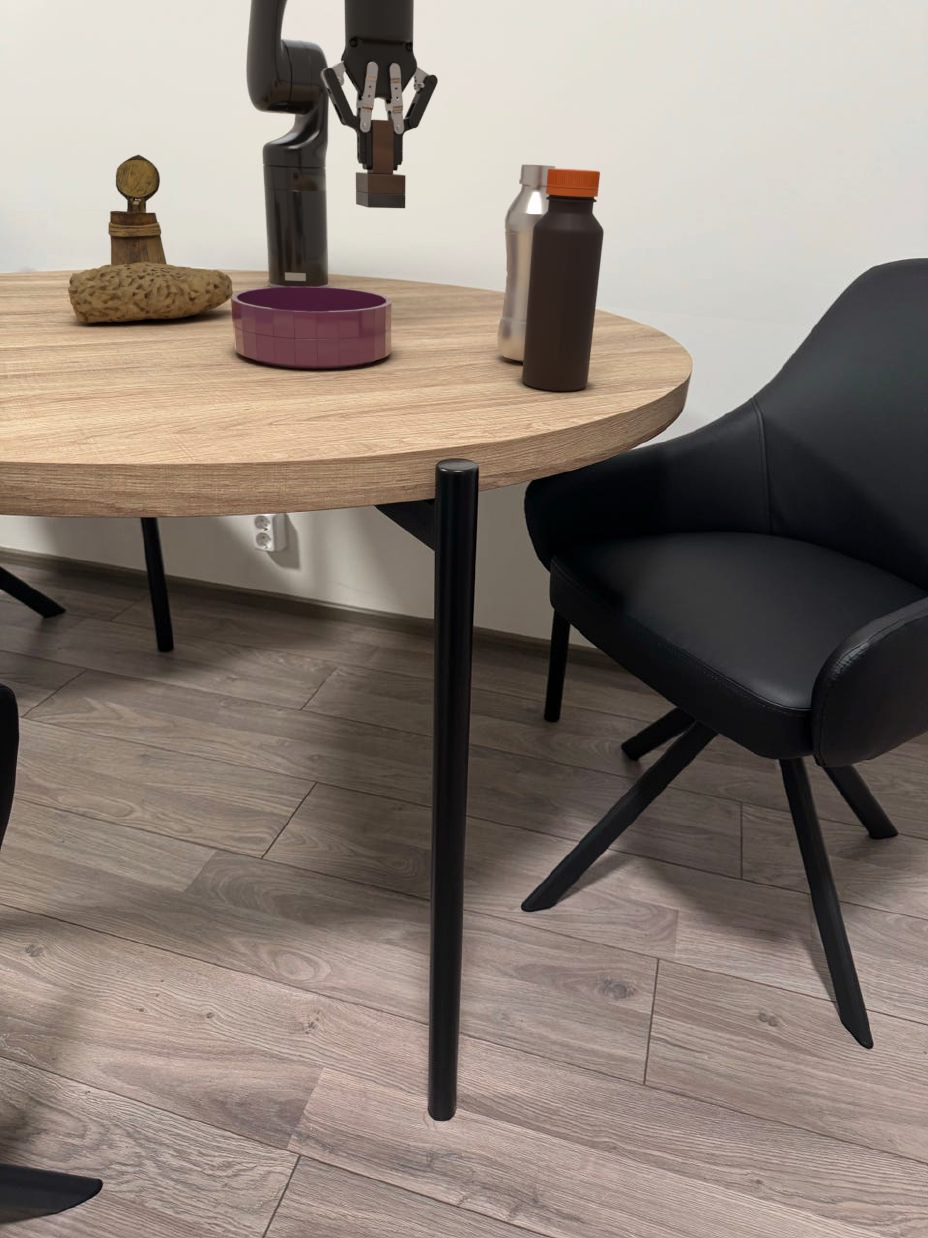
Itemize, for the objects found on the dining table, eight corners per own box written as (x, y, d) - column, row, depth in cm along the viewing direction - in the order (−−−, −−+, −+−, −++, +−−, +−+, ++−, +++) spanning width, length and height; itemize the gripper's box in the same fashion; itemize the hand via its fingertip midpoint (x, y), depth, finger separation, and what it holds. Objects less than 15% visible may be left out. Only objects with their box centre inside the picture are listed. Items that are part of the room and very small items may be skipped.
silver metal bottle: (557, 357, 106) (574, 166, 97) (546, 369, 100) (563, 167, 91) (503, 352, 107) (515, 163, 98) (489, 363, 102) (500, 163, 92)
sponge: (83, 341, 108) (247, 302, 113) (58, 272, 105) (227, 235, 110) (87, 340, 120) (235, 304, 125) (65, 278, 117) (217, 244, 122)
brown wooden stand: (183, 288, 138) (171, 155, 130) (170, 302, 127) (156, 158, 118) (122, 286, 137) (106, 152, 129) (104, 301, 125) (84, 154, 117)
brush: (356, 204, 110) (354, 119, 106) (391, 204, 111) (392, 121, 107) (367, 207, 105) (367, 118, 101) (405, 208, 106) (406, 120, 102)
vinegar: (532, 373, 98) (549, 167, 89) (594, 381, 96) (617, 171, 87) (513, 386, 93) (528, 167, 83) (577, 395, 91) (600, 172, 81)
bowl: (228, 339, 107) (224, 285, 104) (371, 337, 112) (371, 285, 109) (244, 373, 92) (240, 312, 89) (408, 369, 97) (409, 310, 95)
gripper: (430, 1, 104) (427, 170, 112) (308, -10, 99) (314, 166, 107) (451, -7, 98) (446, 172, 105) (322, -20, 93) (327, 168, 101)
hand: (379, 168), depth 106 cm, fingers closed on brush, 2 cm apart
